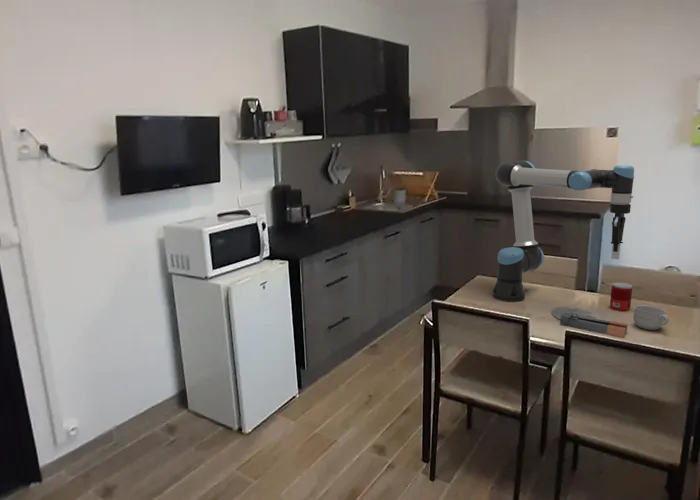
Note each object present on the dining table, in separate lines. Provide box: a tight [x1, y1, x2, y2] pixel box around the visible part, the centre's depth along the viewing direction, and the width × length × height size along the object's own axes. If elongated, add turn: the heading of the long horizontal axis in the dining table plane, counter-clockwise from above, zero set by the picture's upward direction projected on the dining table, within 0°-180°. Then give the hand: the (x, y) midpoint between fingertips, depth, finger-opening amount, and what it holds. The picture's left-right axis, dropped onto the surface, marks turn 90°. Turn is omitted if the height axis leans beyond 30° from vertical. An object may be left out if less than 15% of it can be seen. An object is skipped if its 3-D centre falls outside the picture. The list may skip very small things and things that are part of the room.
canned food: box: [609, 282, 633, 312], centre depth 225 cm, size 8×8×11 cm
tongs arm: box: [571, 313, 629, 334], centre depth 203 cm, size 20×4×4 cm, turn 55°
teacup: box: [633, 304, 670, 331], centre depth 201 cm, size 14×11×8 cm
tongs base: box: [559, 311, 627, 338], centre depth 202 cm, size 24×6×4 cm, turn 50°
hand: (615, 258), depth 215 cm, fingers closed
